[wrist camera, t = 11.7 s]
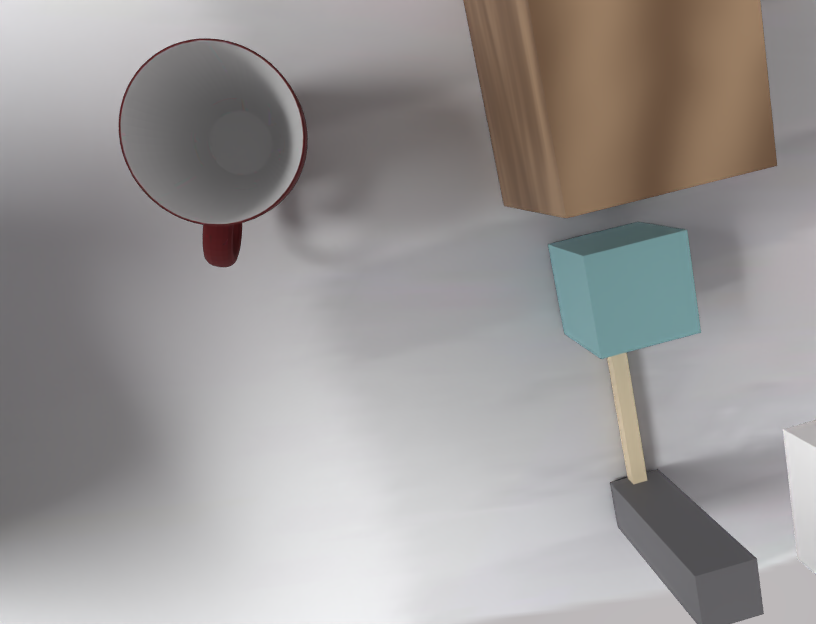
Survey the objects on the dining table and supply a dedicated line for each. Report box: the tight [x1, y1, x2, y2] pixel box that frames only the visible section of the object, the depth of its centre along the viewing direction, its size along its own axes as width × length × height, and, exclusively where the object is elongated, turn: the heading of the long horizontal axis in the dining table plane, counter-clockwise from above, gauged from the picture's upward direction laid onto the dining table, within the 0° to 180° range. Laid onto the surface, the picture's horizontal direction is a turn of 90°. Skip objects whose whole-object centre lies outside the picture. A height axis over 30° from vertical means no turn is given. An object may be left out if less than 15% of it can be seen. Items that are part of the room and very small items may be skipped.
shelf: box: [463, 0, 777, 218], centre depth 35 cm, size 10×13×11 cm
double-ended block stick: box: [548, 222, 764, 624], centre depth 39 cm, size 6×21×11 cm, turn 13°
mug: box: [119, 39, 308, 267], centre depth 35 cm, size 10×8×10 cm
